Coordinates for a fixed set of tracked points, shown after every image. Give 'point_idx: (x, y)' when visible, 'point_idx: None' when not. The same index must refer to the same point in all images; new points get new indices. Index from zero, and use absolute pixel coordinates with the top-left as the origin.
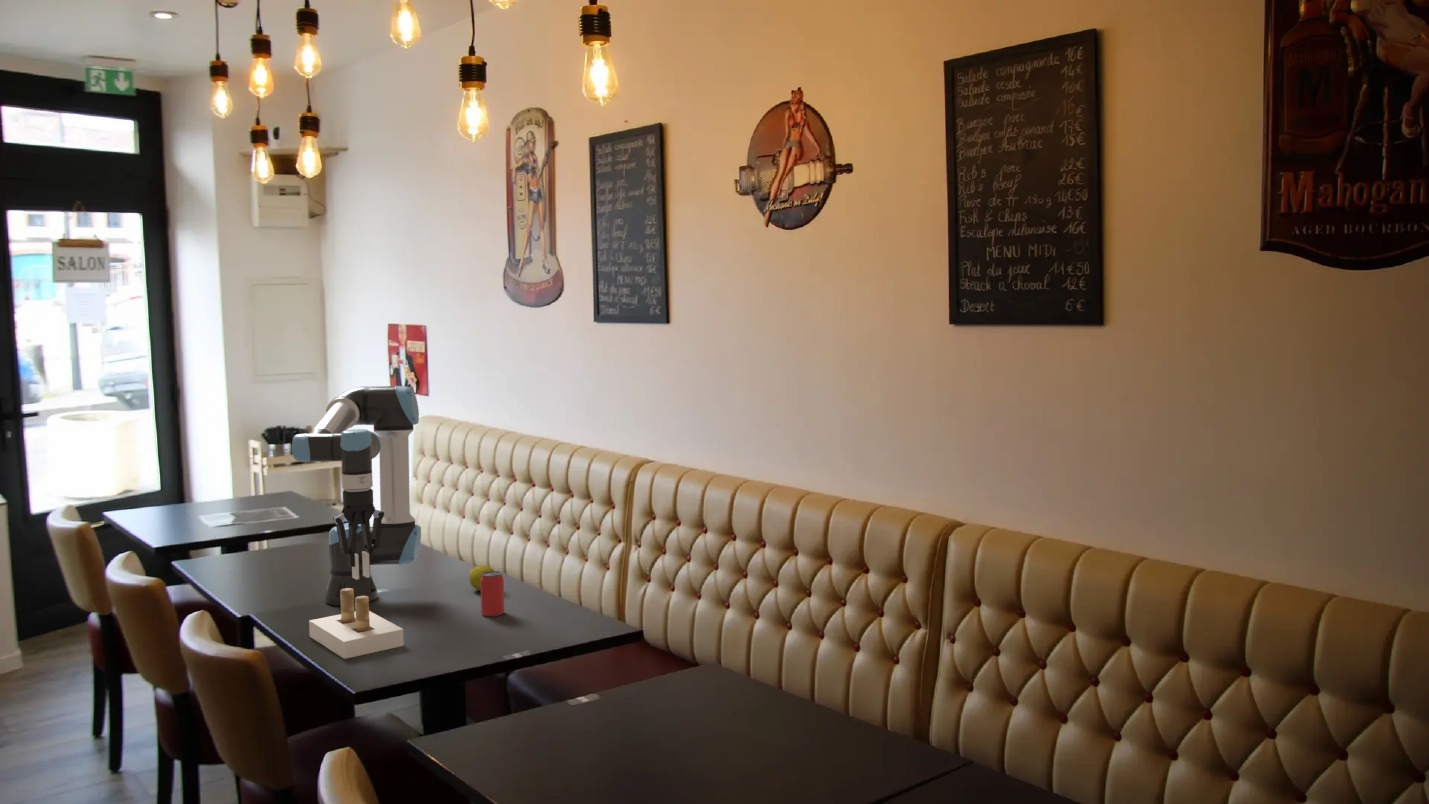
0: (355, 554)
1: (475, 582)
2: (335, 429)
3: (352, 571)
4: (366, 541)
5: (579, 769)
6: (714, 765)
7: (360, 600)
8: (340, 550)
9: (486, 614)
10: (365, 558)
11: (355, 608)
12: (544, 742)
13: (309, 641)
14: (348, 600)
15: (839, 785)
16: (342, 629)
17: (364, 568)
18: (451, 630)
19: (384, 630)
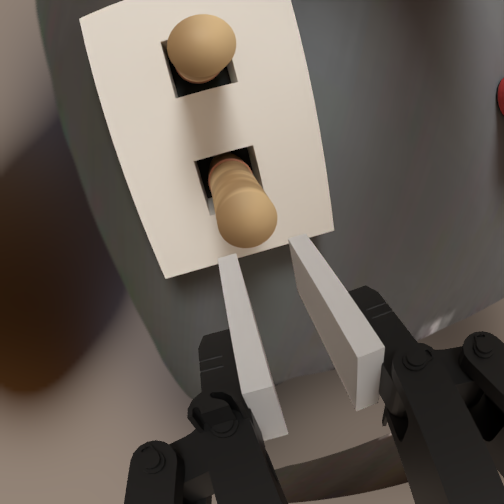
0: (269, 427)
1: None
2: None
3: (223, 287)
4: (412, 480)
5: (318, 491)
6: (375, 481)
7: (236, 245)
8: (131, 461)
9: (501, 109)
10: (339, 366)
11: (214, 206)
12: (321, 477)
13: (89, 70)
14: (201, 78)
15: (396, 483)
16: (168, 158)
17: (309, 295)
18: (433, 152)
19: (287, 222)
